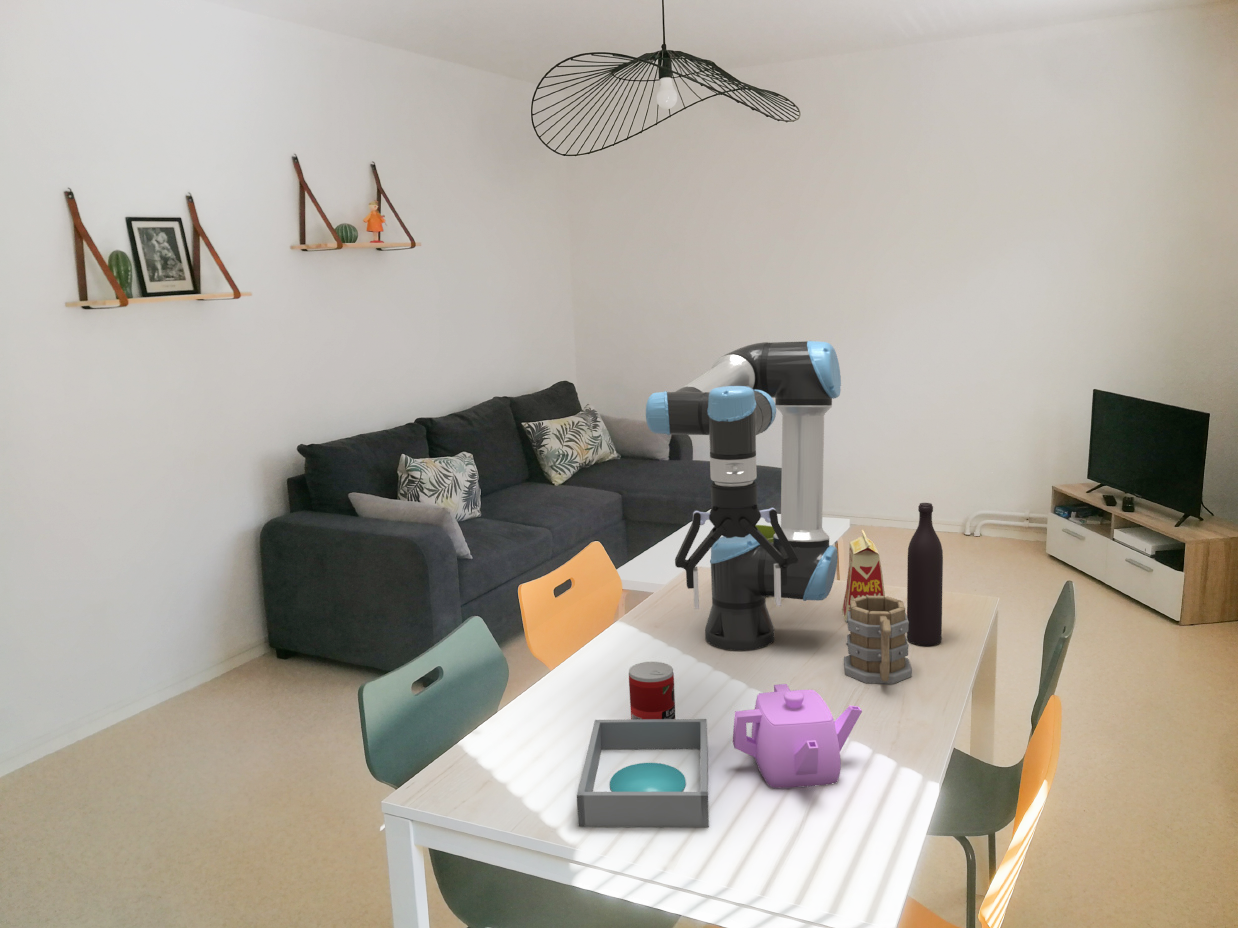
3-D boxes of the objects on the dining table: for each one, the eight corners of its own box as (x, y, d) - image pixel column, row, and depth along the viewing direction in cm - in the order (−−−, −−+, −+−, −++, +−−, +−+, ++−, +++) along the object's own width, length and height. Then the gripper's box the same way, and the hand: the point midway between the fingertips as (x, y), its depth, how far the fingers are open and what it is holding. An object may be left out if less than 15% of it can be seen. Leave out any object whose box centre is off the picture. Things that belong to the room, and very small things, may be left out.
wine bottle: (948, 641, 198) (951, 503, 192) (927, 649, 194) (929, 509, 188) (921, 632, 204) (922, 498, 198) (899, 639, 200) (900, 504, 194)
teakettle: (777, 731, 162) (775, 664, 160) (867, 759, 151) (867, 688, 149) (721, 772, 150) (719, 700, 148) (816, 806, 139) (815, 729, 137)
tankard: (842, 657, 192) (842, 588, 190) (906, 658, 190) (907, 588, 187) (848, 699, 173) (847, 623, 170) (918, 701, 171) (919, 624, 168)
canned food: (672, 738, 161) (670, 679, 159) (627, 736, 163) (624, 677, 161) (678, 718, 169) (676, 661, 167) (635, 716, 170) (632, 660, 168)
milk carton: (841, 610, 220) (841, 528, 216) (882, 610, 218) (882, 527, 214) (845, 623, 211) (845, 538, 207) (887, 624, 209) (888, 538, 206)
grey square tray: (596, 746, 160) (594, 719, 159) (707, 746, 158) (706, 718, 157) (578, 826, 136) (576, 795, 136) (708, 826, 135) (707, 795, 134)
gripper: (657, 489, 149) (663, 614, 153) (814, 483, 148) (815, 609, 152) (657, 479, 157) (662, 599, 161) (806, 473, 156) (808, 594, 160)
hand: (737, 604), depth 157 cm, fingers open, 13 cm apart
